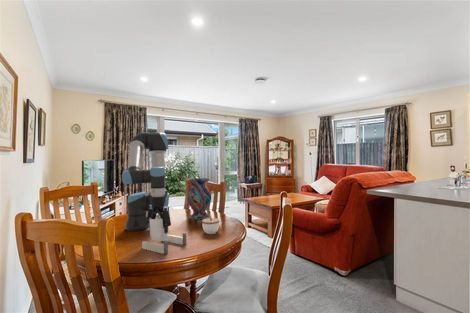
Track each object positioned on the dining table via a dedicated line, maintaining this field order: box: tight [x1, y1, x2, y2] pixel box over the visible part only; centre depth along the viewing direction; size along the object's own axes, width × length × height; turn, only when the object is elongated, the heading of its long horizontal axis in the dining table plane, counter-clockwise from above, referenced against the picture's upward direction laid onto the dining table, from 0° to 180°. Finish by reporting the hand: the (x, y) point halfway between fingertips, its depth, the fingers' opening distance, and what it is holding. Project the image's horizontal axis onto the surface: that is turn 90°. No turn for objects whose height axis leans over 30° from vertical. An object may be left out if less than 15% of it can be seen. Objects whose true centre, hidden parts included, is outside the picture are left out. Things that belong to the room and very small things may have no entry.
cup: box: [149, 214, 166, 242], centre depth 129 cm, size 9×9×12 cm
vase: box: [187, 177, 212, 221], centre depth 187 cm, size 18×18×30 cm
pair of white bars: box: [141, 232, 187, 255], centre depth 126 cm, size 17×16×6 cm
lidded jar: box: [201, 216, 220, 235], centre depth 148 cm, size 11×11×9 cm
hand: (158, 237), depth 129 cm, fingers closed on cup, 9 cm apart
